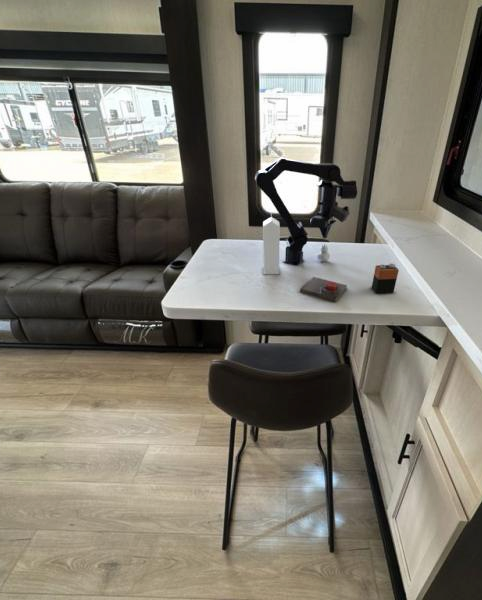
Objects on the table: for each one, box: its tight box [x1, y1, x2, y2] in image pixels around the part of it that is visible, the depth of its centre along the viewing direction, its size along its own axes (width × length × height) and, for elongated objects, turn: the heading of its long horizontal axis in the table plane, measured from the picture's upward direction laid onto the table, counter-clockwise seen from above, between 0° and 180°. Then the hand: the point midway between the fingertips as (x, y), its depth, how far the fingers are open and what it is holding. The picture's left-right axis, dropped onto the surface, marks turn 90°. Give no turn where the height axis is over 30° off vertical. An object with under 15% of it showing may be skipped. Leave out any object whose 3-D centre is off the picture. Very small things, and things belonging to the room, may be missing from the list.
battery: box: [371, 263, 399, 295], centre depth 106 cm, size 4×7×10 cm, turn 99°
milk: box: [262, 214, 281, 275], centre depth 114 cm, size 6×6×22 cm
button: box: [325, 281, 337, 290], centre depth 102 cm, size 4×4×2 cm
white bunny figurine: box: [316, 243, 331, 263], centre depth 129 cm, size 5×7×8 cm
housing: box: [299, 276, 348, 303], centre depth 106 cm, size 13×12×4 cm
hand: (324, 238), depth 125 cm, fingers closed
